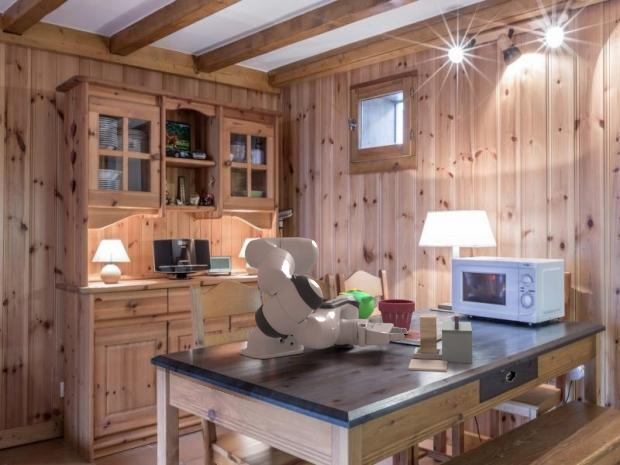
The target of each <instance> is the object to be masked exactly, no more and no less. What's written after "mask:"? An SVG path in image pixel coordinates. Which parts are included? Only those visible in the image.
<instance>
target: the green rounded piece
mask: <svg viewBox="0 0 620 465" xmlns="http://www.w3.org/2000/svg"><path fill="white" fill-rule="evenodd" d="M338 294H339V295H351V296H354V297H355V298H356V299H357V300H358V301H359V303H360V305H359V318H358V319H369V318H370V317H371V316H372V314H373V312H374V311H375V301H374V300H375V299H376V296H375V295H370V294H369V293H368V292H366V291H363V290H359V289H358V288H357V287H352V288H350V289H349V290H346V291H342V292H339V293H338ZM339 295H338V296H339Z"/></svg>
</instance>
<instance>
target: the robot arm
mask: <svg viewBox="0 0 620 465" xmlns="http://www.w3.org/2000/svg"><path fill="white" fill-rule="evenodd" d="M319 249H320V248H319V246H318V244H317V242H316V241H315V240H314V239H311V238H307V237H306V238H305V237H301V236H300V237H298V236H297V237H295V236H294V237H292V236H291V237H288V236H287V237H286V236H285V237H262V238H257V239H251V240H250V241H249V242H248V243H247V244H246V246H245V249H244V258H245V261H246V263H247V264H248V266H249V267H250V268H253V269H257V278H256V279H257V285H258V287H259V289H260V291H261V292H263V293H264V294H265V295H266V302H265V303H264V304H261V305H260V306H259V307H258V308H257V310H256V311H255V313H254V321H255V323H256V326H257V327H255V329H253V331H251V332H250V333H249V335H248V337H247V340H246V348H242V349H240V351H239V353H240V354H241V355H242V354H243V355H242V356H245V357H249V358H252V359H253V358H254V359H264V360H265V359H273V358H279V357H286V356H291V355H299V354H304V353H303V352H304V350H305V347H306V348H307V349H308V348H309V349H311V350H321V349H322V350H323V349H327V348H330V347H332V346H333V347H335V348H336V349H339V348H342V349H352V348H353V347H355V346H359V347H361V348H362V347H363V348H365V347H369V346H384V345H388V344H389V343H390V341H398V340H401V341H402V340H405V336H406V335H404V334H406V333H407V329H406V328H398V327H394V324H392V323H383V322H382V323H381V322H377V323H373V322H371V321H370V319H369V318H366V319H358V318H359V305H360V303H359V301H358V300H357V299H356V298H355V297H354V296H351V295H337V296H335V297H333V298H332V299H329V300H328V301H326V302H324V299H325V296H324V294H323V290H322V288H321V286H320V285H319V283H317V281H315V280H314V279H313V278H312V277H310V276H306V274H307V273H308V271H309V270H310V269H311V268H313V267H314V266H315V265H316V264H317V262H318V261H319V258H320V250H319ZM314 311H315V312H314Z"/></svg>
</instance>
